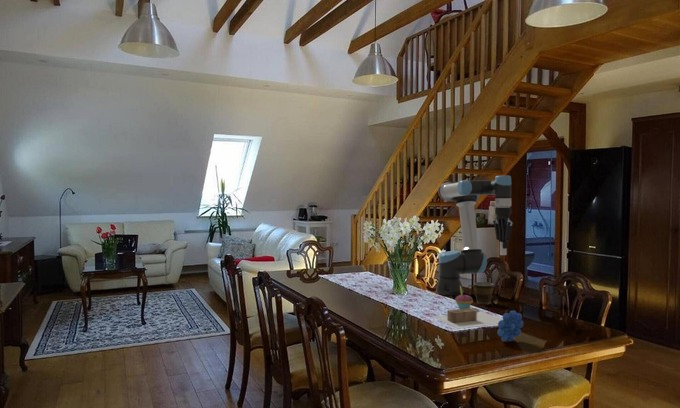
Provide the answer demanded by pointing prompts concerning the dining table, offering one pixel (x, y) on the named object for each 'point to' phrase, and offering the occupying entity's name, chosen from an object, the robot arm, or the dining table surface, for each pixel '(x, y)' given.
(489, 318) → the felt mat
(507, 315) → the grapes
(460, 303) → the cupcake
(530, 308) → the dining table surface
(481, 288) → the ceramic cup
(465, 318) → the walnut block
